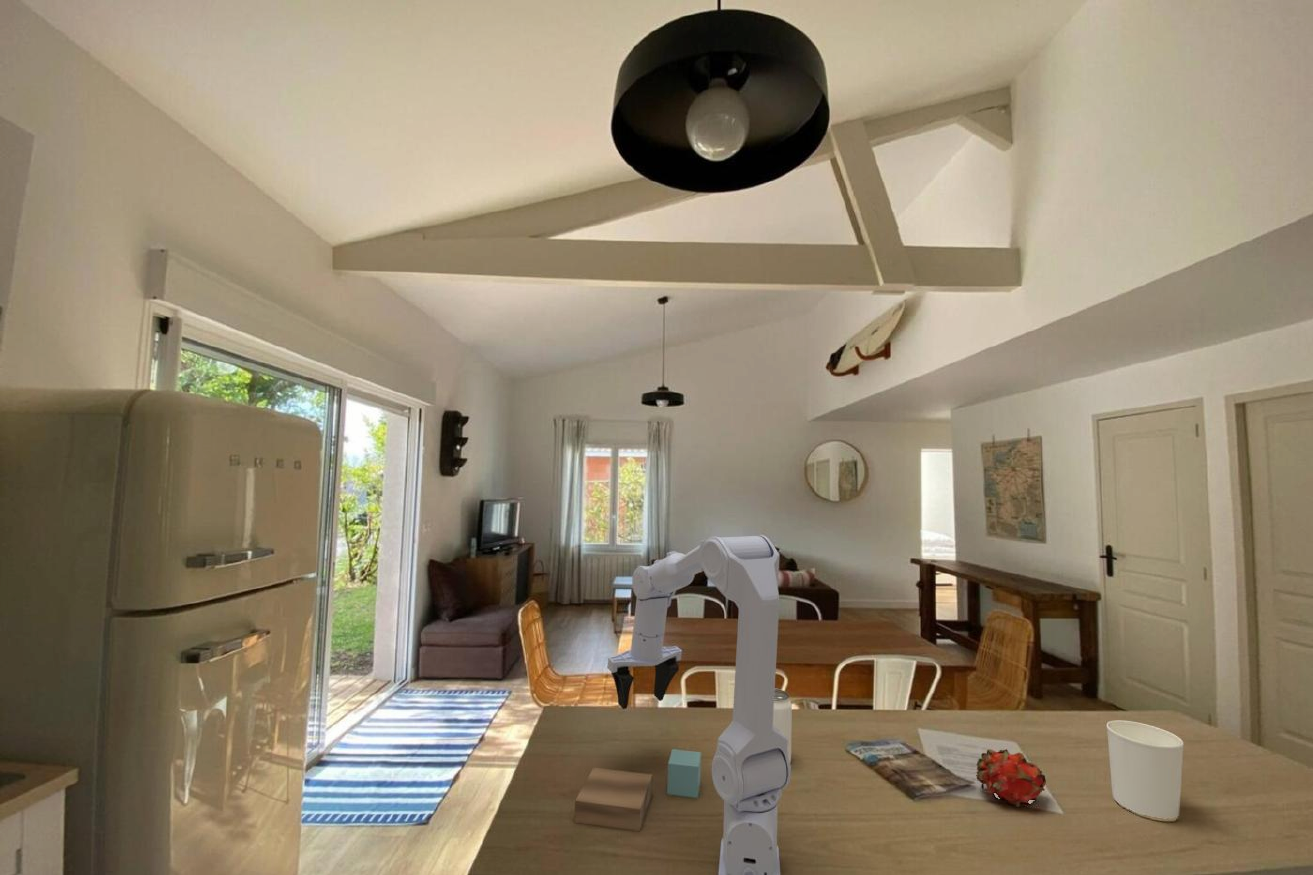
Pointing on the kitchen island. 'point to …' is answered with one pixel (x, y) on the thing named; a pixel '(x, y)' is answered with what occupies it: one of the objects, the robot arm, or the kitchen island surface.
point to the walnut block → (614, 799)
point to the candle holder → (1145, 768)
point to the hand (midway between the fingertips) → (640, 701)
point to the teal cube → (684, 773)
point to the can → (783, 716)
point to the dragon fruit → (1010, 776)
